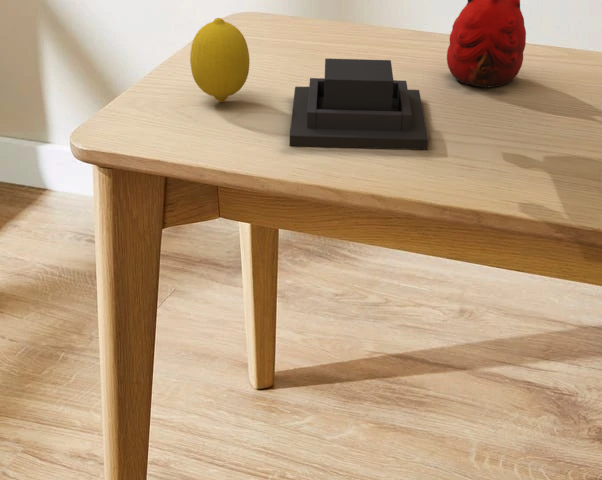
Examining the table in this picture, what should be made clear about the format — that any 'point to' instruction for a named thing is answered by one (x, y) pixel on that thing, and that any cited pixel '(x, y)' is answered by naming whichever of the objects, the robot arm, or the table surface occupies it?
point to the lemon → (219, 59)
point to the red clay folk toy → (487, 43)
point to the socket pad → (358, 121)
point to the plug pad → (358, 85)
